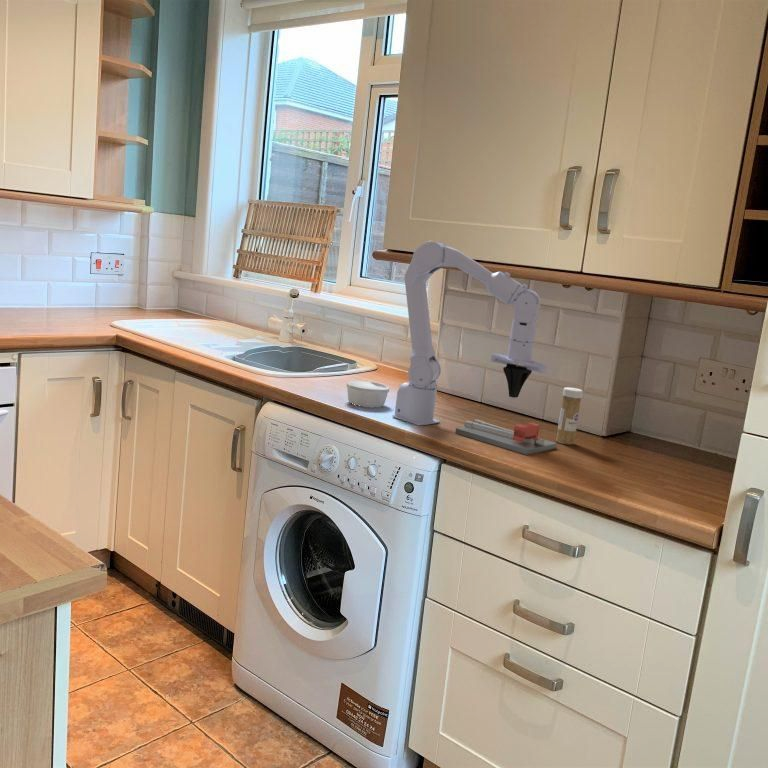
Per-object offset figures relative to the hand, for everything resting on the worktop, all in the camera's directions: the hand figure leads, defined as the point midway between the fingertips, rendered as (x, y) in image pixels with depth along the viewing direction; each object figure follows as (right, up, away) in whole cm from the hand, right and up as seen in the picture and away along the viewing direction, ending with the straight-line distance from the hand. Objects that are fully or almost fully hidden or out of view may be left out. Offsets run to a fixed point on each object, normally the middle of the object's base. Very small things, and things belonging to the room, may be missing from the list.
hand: (513, 396), depth 194 cm
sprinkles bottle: (+13, -11, +3) cm, 17 cm away
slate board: (-2, -10, -2) cm, 11 cm away
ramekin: (-36, -3, +20) cm, 41 cm away
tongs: (-2, -9, -3) cm, 10 cm away
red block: (+2, -10, -6) cm, 12 cm away
